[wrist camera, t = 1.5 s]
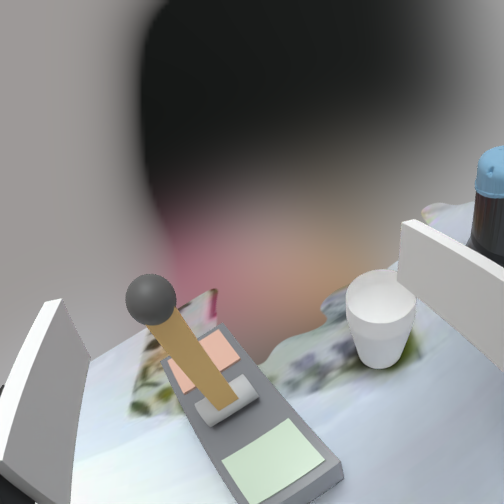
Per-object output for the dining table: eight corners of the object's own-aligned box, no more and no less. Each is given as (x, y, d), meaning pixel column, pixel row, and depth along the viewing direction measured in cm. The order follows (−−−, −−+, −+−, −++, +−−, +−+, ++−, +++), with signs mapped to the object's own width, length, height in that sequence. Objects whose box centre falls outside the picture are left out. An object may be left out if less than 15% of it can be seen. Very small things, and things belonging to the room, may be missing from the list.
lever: (246, 380, 33) (168, 247, 22) (263, 402, 30) (185, 270, 19) (201, 409, 31) (99, 290, 20) (215, 433, 28) (105, 318, 18)
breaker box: (245, 362, 47) (221, 320, 41) (344, 477, 29) (340, 460, 23) (191, 395, 44) (158, 359, 39) (274, 523, 26) (248, 519, 20)
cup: (337, 357, 43) (329, 304, 36) (372, 317, 46) (370, 259, 40) (387, 387, 36) (393, 337, 30) (420, 341, 40) (430, 283, 33)
